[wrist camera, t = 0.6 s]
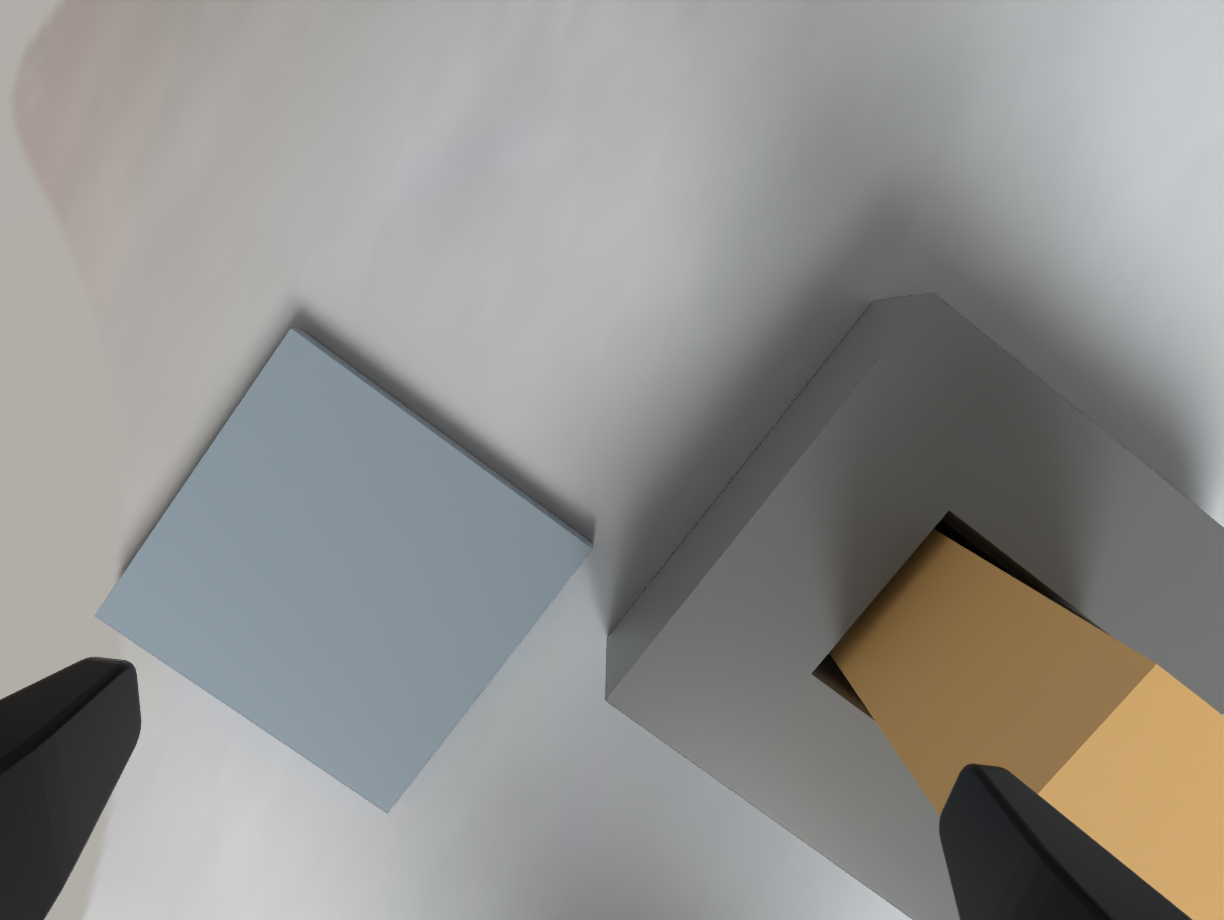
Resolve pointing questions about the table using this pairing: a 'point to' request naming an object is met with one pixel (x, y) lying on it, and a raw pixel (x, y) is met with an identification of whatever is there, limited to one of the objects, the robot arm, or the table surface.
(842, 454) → the grey square hole base
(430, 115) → the table surface
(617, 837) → the table surface
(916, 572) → the tan rectangular block
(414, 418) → the pad
